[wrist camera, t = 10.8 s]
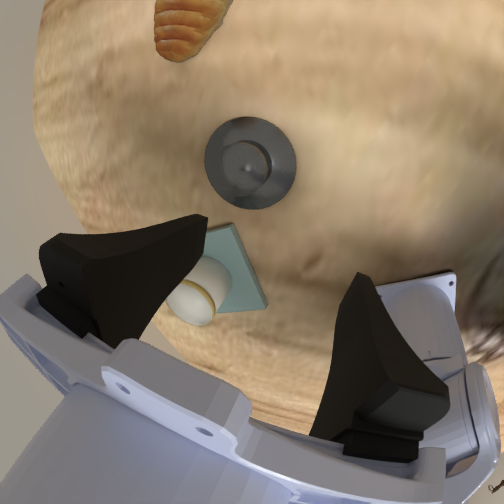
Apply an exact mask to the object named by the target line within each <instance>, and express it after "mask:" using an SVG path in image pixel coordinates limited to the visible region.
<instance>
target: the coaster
mask: <svg viewBox="0 0 504 504" xmlns="http://www.w3.org/2000/svg"><path fill="white" fill-rule="evenodd" d="M201 257H210V258H213V259H215V260H217V261H218V262H220V263H221V264H222V265H223V266H224V267H225V268H226V269H227V270H228V272H229V273H230V276H231V279H232V288H231V290H230V291H229V293H228V295H227V296H226V298H225V299H224V301H223V302H222V304H221V305H220V307H219V308H218V310H217V311H216V313H227V312H239V311H251V310H262V309H266V307H267V305H268V303H267V300H266V298H265V296H264V294H263V291H262V289H261V287H260V284H259V282H258V280H257V277H256V275H255V273H254V270H253V268H252V266H251V263H250V261H249V259H248V256H247V254H246V252H245V249H244V247H243V245H242V242H241V240H240V238H239V235H238V233H237V231H236V228H235V226H234V224H230V225H226V226H223V227H219V228H215V229H212V230H208V231H206V238H205V245H204V253H203V255H202V256H201Z"/></svg>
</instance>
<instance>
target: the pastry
mask: <svg viewBox="0 0 504 504" xmlns="http://www.w3.org/2000/svg"><path fill="white" fill-rule="evenodd" d="M232 2H233V0H157V1H156V3H155V15H154V22H155V24H154V34H155V38H154V41H155V43H156V51H157V52H158V53H159V54H160V55H161V56H162V57H164V58H165V59H167V60H169V61H173V62H182V61H184V60H187V59H189V58H191V57H193V56H195V55H196V54H197V53H198V52H199V51H200V50H201V48H202V46H203V45H204V44H205V42H206V41H207V40H208V39H209V38H210V37H211V35H212V34H213V33H214V31H216V30H217V29H218V28H219V27H220V26H221V25H222V23H223V18H224V16H225V15H226V13H227V11H228V9H229V7H230V5H231V4H232Z"/></svg>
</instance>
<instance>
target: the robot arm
mask: <svg viewBox="0 0 504 504" xmlns="http://www.w3.org/2000/svg"><path fill="white" fill-rule="evenodd" d="M207 223H208V217H205V216H202V215H199V214H193V215H189V216H185V217H182V218H178V219H175V220H171V221H168V222H165V223H161V224H157V225H153V226H149V227H146V228H141V229H137V230H131V231H125V232H117V233H107V234H67V233H59V234H57V235H56V236H54V237H53V238H51V239H50V240H48V241H47V242H45V243H44V244H42V245H41V246H40V249H39V260H40V264H41V267H42V271H43V274H44V277H45V280H46V283H47V286H46V287H44V288H43V289H42V288H41V286H40V284H39V283H38V282H37V281H35V280H34V279H33V278H32V277H31V276H30V275H28V274H25V275H24V276H23V277H21V278H20V279H19V280H18V281H16V282H15V283H14V284H13V285H11V286H10V287H9V288H8V289H7V290H6V291H4V292H3V293H2V294H1V295H0V322H1V324H2V325H3V327H4V329H5V330H6V332H7V334H8V336H9V337H10V339H11V340H12V341H13V343H14V344H15V345H16V346H17V347H18V348H19V349H20V351H21V352H22V353H23V354H24V355H25V356H26V357H27V358H28V359H29V361H30V362H31V363H32V364H33V365H34V366H35V367H36V368H37V369H38V370H39V371H40V372H41V373H42V374H43V375H44V377H46V379H47V380H48V381H49V382H50V383H51V384H52V385H53V386H54V387H56V388H57V389H58V390H59V391H60V392H61V393H62V394H63V395H64V396H65V398H64V399H63V400H62V401H61V403H60V404H59V405H58V406H57V408H56V409H55V410H54V411H53V413H52V414H51V415H50V416H49V418H48V419H47V420H46V422H45V423H44V424H43V425H42V427H41V428H40V429H39V431H38V432H37V433H36V435H35V436H34V437H33V438H32V440H31V441H30V442H29V444H28V445H27V446H26V448H25V449H24V451H23V452H22V453H21V455H20V456H19V458H18V459H17V460H16V462H15V463H14V464H13V466H12V467H11V469H10V470H9V472H8V473H7V474H6V476H5V477H4V479H3V480H2V482H1V483H0V504H468V498H469V497H470V496H472V494H473V493H474V492H475V491H476V490H477V489H478V488H479V487H480V486H481V485H482V484H483V483H484V482H485V481H486V480H487V479H488V477H489V476H490V475H491V474H492V472H493V471H494V470H495V468H496V466H497V462H498V459H499V457H500V453H501V441H500V426H499V416H498V410H497V404H496V400H495V396H494V392H493V388H492V385H491V382H490V379H489V376H488V374H487V372H486V369H485V368H484V366H482V365H479V364H477V363H476V362H472V363H470V364H468V361H467V357H466V353H465V349H464V345H463V341H462V338H461V334H460V331H459V327H458V324H457V321H456V317H455V314H454V310H455V295H456V275H455V273H454V272H448V273H443V274H439V275H434V276H429V277H424V278H419V279H414V280H408V281H403V282H398V283H392V284H386V285H381V286H376V287H375V286H374V284H373V282H372V280H371V278H370V277H369V276H367V275H364V274H361V273H359V272H357V274H356V276H355V277H354V279H353V281H352V283H351V285H350V287H349V289H348V291H347V292H346V294H345V296H344V298H343V300H342V302H341V303H340V306H339V310H338V314H337V319H336V324H335V333H334V342H333V351H332V360H331V366H330V371H329V375H328V379H327V383H326V387H325V390H324V393H323V397H322V400H321V403H320V406H319V409H318V412H317V415H316V418H315V420H314V423H313V426H312V428H311V431H310V433H309V436H308V435H304V434H301V433H297V432H294V431H290V430H287V429H284V428H281V427H278V426H275V425H272V424H269V423H266V422H263V421H260V420H257V419H254V418H252V417H250V415H251V412H252V406H251V401H250V400H249V399H248V398H247V397H246V395H245V394H244V393H243V392H242V391H241V390H240V389H238V388H236V387H235V386H233V385H231V384H229V383H227V382H226V381H224V380H222V379H220V378H217V377H215V376H213V375H210V374H208V373H206V372H204V371H202V370H199V369H197V368H195V367H193V366H191V365H189V364H187V363H185V362H182V361H181V360H178V359H177V358H175V357H173V356H171V355H169V354H167V353H164V352H163V351H161V350H159V349H157V348H155V347H153V346H151V345H150V344H148V343H145V342H142V341H140V340H139V338H140V336H141V335H142V333H143V331H144V330H145V328H146V326H147V325H148V323H149V322H150V320H151V319H152V317H153V316H154V314H155V313H156V312H157V310H158V309H159V307H160V306H161V304H162V303H163V302H164V301H165V299H166V298H167V297H168V296H169V295H170V294H171V293H172V291H173V290H174V289H175V288H176V287H177V286H178V285H179V284H180V283H181V282H182V280H183V279H184V278H185V277H186V276H187V275H188V274H189V273H190V272H191V270H192V269H193V268H194V267H195V265H196V264H197V262H198V261H199V259H200V258H201V256H202V255H203V253H204V245H205V238H206V230H207ZM451 281H453V282H452V283H449V282H451ZM379 295H381V297H380V296H379Z"/></svg>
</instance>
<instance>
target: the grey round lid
mask: <svg viewBox="0 0 504 504" xmlns="http://www.w3.org/2000/svg"><path fill="white" fill-rule="evenodd" d="M205 169H206V173H207V176H208V179H209V181H210V183H211V185H212V186H213V188H214V189H215V191H216V192H217V193H218V194H219V195H220V196H221V197H222V198H223V199H225V200H226V201H227V202H229V203H231V204H233V205H235V206H237V207H240V208H244V209H252V210H254V209H263V208H266V207H269V206H271V205H273V204H275V203H277V202H278V201H280V200H281V199H282V198H283V197H284V196H285V195H286V193H287V192H288V191H289V189H290V188H291V186H292V184H293V181H294V179H295V175H296V156H295V152H294V149H293V147H292V145H291V143H290V141H289V139H288V138H287V136H286V135H285V134H284V133H283V132H282V131H281V130H280V129H279V128H278V127H276V126H275V125H274V124H272V123H270V122H268V121H266V120H263V119H259V118H254V117H243V118H237V119H234V120H231V121H229V122H227V123H225V124H223V125H222V126H221V127H219V128H218V129H217V130H216V131H215V132H214V134H213V135H212V137H211V138H210V140H209V142H208V145H207V148H206V152H205Z"/></svg>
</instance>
